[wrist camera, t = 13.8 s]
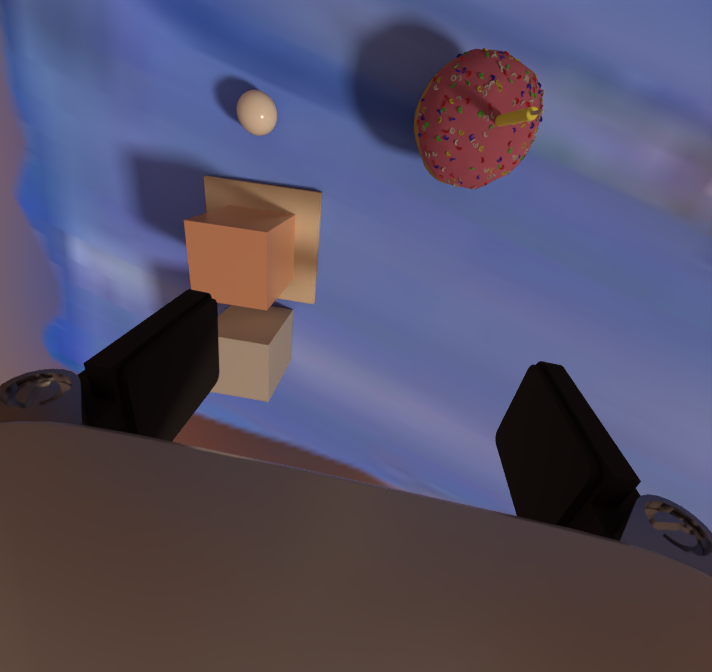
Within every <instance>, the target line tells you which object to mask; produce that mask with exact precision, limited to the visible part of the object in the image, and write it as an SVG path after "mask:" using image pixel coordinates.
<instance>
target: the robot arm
mask: <svg viewBox="0 0 712 672" xmlns="http://www.w3.org/2000/svg"><path fill="white" fill-rule="evenodd" d="M84 366H85V370H84V371H82V372H81V373H80V374H78V375H76V374H75V373H74V372H71V371H68V370H64V369H44V370H37V371H33V372H28V373H25V374H22V375H20V376H17V377H14V378H12V379H10V380H8V381H7V382H5V383H3V384H2V385H0V672H712V533H711V531H710V530H709V529H708V528H707V527H706V526H705V525H704V524H703V523H702V522H701V521H700V520H699V519H698V518H696V517H695V516H694V515H693V514H691V513H690V512H689V511H687V510H686V509H684V508H683V507H681V506H679V505H678V504H676V503H674V502H672V501H670V500H668V499H665V498H662V497H660V496H656V495H649V494H647V495H642V496H640V494H639V493H638V491H637V490H636V487H637V486H638V484H639V483H640V482H641V481H640V479H639V478H638V476H637V475H636V474H635V472H634V471H633V469H632V468H631V466H630V465H629V463H628V462H627V460H626V459H625V457H624V456H623V454H622V453H621V451H620V450H619V448H618V447H617V445H616V444H615V443H614V441H613V440H612V438H611V437H610V435H609V434H608V432H607V431H606V429H605V428H604V426H603V425H602V423H601V422H600V420H599V419H598V417H597V416H596V414H595V413H594V411H593V410H592V409H591V407H590V406H589V404H588V403H587V401H586V400H585V398H584V397H583V395H582V394H581V392H580V391H579V389H578V388H577V386H576V385H575V383H574V382H573V380H572V379H571V378H570V376H569V375H568V373H567V372H566V370H565V369H564V367H563V366H561V365H557V364H552V363H547V362H542V361H540V362H538V363H537V364H536V365H531V366H530V367H529V368H528V370H527V372H526V374H525V376H524V378H523V380H522V382H521V384H520V386H519V388H518V390H517V392H516V394H515V396H514V398H513V400H512V402H511V404H510V406H509V408H508V410H507V412H506V414H505V416H504V418H503V420H502V422H501V424H500V426H499V428H498V430H497V433H496V445H497V449H498V452H499V456H500V459H501V463H502V466H503V470H504V473H505V476H506V480H507V483H508V487H509V490H510V494H511V497H512V501H513V504H514V507H515V511H516V514H517V516H514V515H509V514H505V513H500V512H496V511H491V510H487V509H482V508H478V507H473V506H469V505H464V504H460V503H455V502H451V501H446V500H442V499H437V498H433V497H428V496H424V495H419V494H415V493H410V492H406V491H401V490H397V489H392V488H387V487H383V486H378V485H374V484H369V483H364V482H360V481H355V480H351V479H345V478H341V477H336V476H332V475H327V474H323V473H318V472H313V471H309V470H304V469H300V468H295V467H290V466H286V465H281V464H276V463H271V462H266V461H262V460H257V459H252V458H248V457H243V456H238V455H233V454H229V453H223V452H219V451H214V450H209V449H204V448H200V447H195V446H191V445H185V444H181V443H176V442H172V441H173V439H174V438H175V437H176V436H177V434H178V433H179V432H180V430H181V429H182V427H183V426H184V425H185V424H186V423H187V421H188V420H189V419H190V417H191V416H192V415H193V413H194V412H195V411H196V409H197V408H198V407H199V406H200V404H201V403H202V402H203V400H204V399H205V398H206V396H207V395H208V394H209V392H210V391H211V390H212V389H213V387H214V386H215V385H216V383H217V381H218V378H219V372H220V371H219V342H218V313H217V301H216V300H215V299H212V296H211V294H210V293H206V292H202V291H197V290H192V289H189V290H187V291H185V292H184V293H182V294H181V295H180V296H178V297H177V298H175V299H174V300H173V301H171V302H170V303H168V304H167V305H165V306H164V307H163V308H161V309H160V310H158V311H157V312H156V313H154V314H153V315H151V316H150V317H148V318H147V319H146V320H144V321H143V322H141V323H140V324H139V325H137V326H136V327H134V328H133V329H132V330H130V331H129V332H127V333H126V334H124V335H123V336H122V337H120V338H119V339H117V340H116V341H115V342H113V343H112V344H110V345H109V346H107V347H106V348H105V349H103V350H102V351H100V352H99V353H98V354H96V355H95V356H93V357H92V358H90V359H89V360H88V361H86V362H85V363H84Z"/></svg>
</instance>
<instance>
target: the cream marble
mask: <svg viewBox="0 0 712 672" xmlns="http://www.w3.org/2000/svg"><path fill="white" fill-rule="evenodd" d="M237 116H238V119H239V122H240V123H241V125H242V126H243V128H244V129H245V130H246V131H248V132H249V133H251V134H253V135H257V136H262V135H266V134H268V133H270V132H271V131H272V130H273V129H274V127H275V125H276V122H277V110H276V106H275V104H274V102H273V100H272V99H271V98H270V97H269V96H268V95H267V94H266V93H264V92H262V91H260V90H249V91H246V92H245V93H243V94H242V95H241V97H240V98H239V100H238V103H237Z"/></svg>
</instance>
